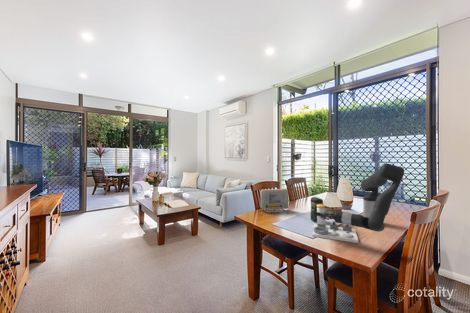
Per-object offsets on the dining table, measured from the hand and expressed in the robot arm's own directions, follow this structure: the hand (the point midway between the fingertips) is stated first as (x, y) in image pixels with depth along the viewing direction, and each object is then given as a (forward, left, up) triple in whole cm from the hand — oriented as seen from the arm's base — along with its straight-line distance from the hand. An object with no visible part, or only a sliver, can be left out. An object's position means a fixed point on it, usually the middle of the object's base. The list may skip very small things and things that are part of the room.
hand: (317, 212), depth 137 cm
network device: (-42, -40, -14) cm, 59 cm away
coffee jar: (-27, -2, -14) cm, 30 cm away
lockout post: (+1, +3, -7) cm, 7 cm away
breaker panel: (-4, +10, -14) cm, 18 cm away
